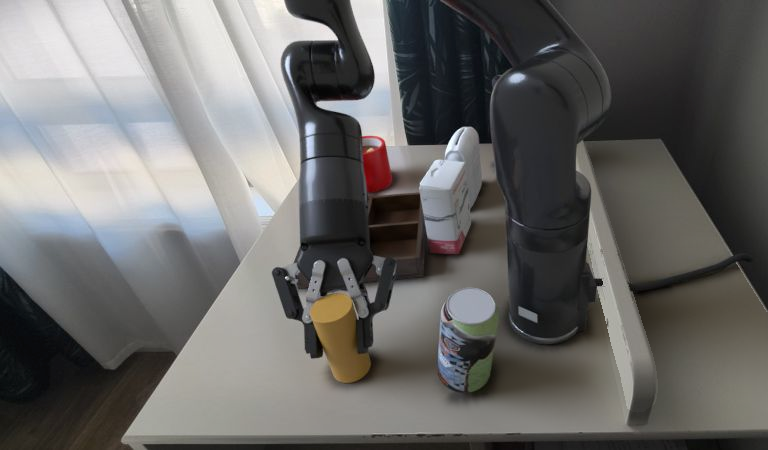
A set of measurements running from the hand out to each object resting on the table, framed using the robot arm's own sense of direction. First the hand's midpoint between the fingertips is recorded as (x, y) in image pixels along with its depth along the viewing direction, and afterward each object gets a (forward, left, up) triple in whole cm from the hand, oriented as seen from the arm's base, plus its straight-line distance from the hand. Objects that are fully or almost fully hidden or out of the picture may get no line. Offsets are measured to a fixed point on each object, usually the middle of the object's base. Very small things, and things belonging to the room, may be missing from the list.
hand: (340, 354), depth 54 cm
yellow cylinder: (0, -2, -5) cm, 5 cm away
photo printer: (-15, -38, -5) cm, 41 cm away
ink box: (-12, -26, -5) cm, 29 cm away
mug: (+3, -44, -5) cm, 44 cm away
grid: (+1, -26, -5) cm, 26 cm away
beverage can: (-14, +1, -5) cm, 15 cm away
